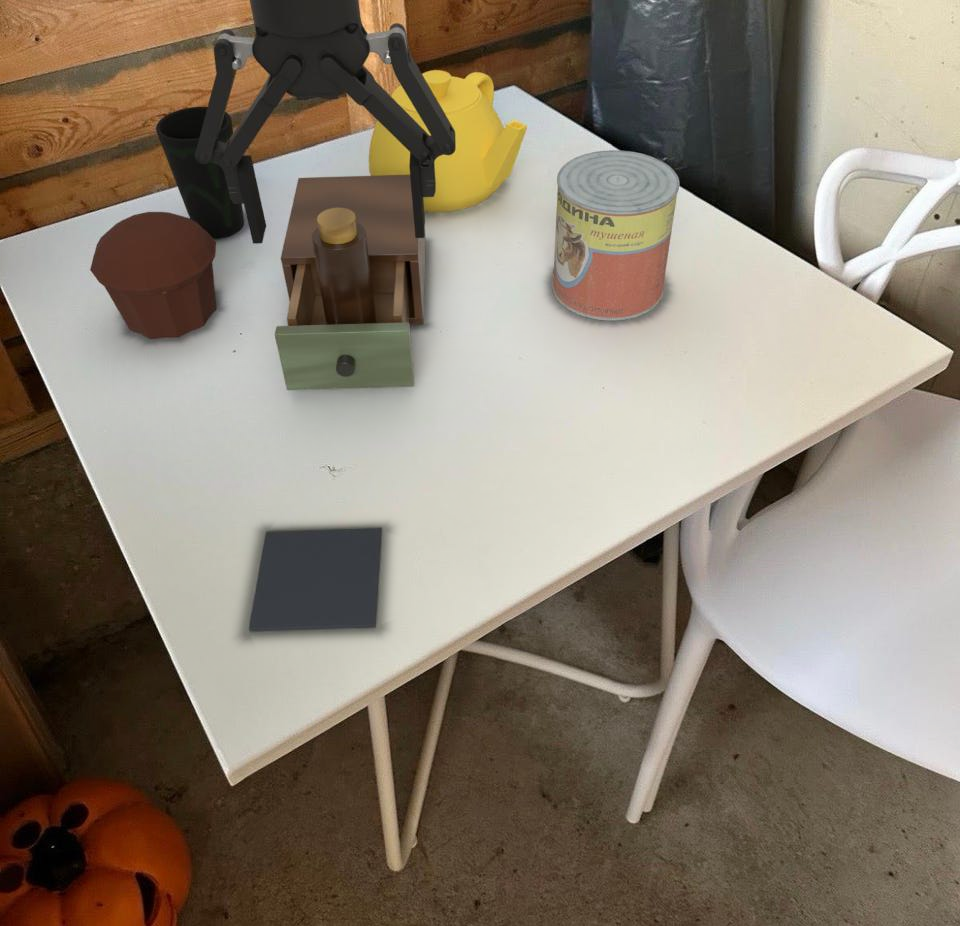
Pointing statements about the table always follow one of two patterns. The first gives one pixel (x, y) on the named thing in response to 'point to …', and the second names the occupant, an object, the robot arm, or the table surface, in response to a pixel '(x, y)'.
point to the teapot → (478, 142)
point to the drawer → (348, 336)
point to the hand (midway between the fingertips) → (340, 232)
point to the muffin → (158, 273)
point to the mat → (317, 580)
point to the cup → (199, 172)
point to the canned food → (613, 233)
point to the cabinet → (376, 208)
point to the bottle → (343, 268)
